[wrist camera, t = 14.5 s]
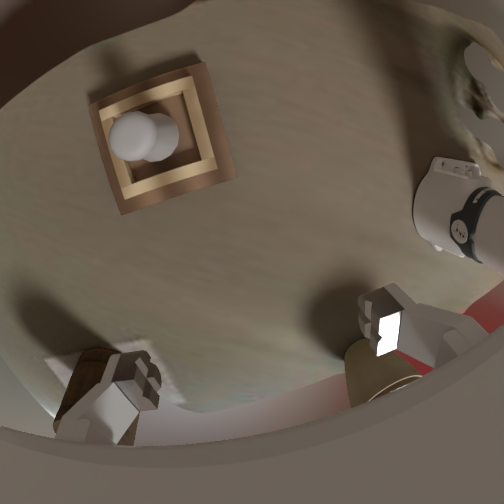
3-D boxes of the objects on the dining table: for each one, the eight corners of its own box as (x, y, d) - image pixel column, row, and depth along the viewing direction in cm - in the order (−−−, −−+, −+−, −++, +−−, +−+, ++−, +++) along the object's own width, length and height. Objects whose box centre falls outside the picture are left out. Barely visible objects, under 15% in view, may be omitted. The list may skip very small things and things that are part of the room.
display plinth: (205, 67, 30) (205, 56, 26) (235, 175, 37) (238, 180, 32) (96, 107, 30) (82, 103, 25) (127, 210, 36) (116, 219, 32)
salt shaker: (132, 124, 29) (90, 116, 17) (175, 109, 29) (154, 90, 18) (143, 166, 32) (107, 181, 20) (186, 152, 32) (171, 158, 20)
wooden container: (66, 355, 44) (31, 437, 24) (117, 339, 44) (86, 439, 24) (107, 399, 50) (90, 478, 30) (158, 388, 50) (150, 480, 30)
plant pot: (373, 311, 50) (416, 363, 35) (395, 344, 55) (430, 390, 41) (314, 357, 52) (342, 418, 37) (345, 383, 58) (371, 433, 43)
